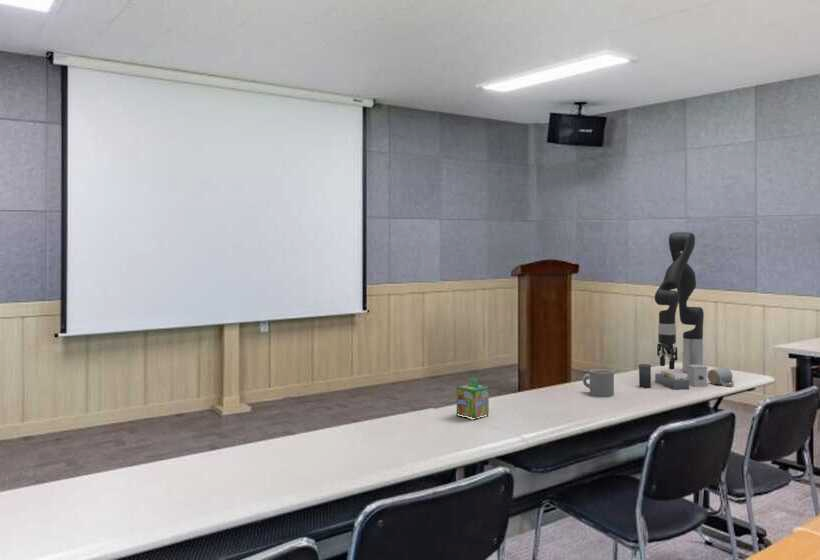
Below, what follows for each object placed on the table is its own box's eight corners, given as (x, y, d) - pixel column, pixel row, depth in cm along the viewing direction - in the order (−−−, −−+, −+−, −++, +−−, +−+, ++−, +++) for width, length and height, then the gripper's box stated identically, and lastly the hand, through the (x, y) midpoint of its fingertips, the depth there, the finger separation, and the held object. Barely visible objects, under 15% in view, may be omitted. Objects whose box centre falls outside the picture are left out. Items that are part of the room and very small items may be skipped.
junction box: (686, 383, 293) (686, 364, 293) (699, 383, 294) (699, 364, 293) (695, 386, 286) (695, 367, 285) (708, 386, 286) (708, 367, 286)
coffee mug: (618, 394, 274) (618, 371, 274) (605, 397, 268) (605, 374, 267) (592, 389, 284) (591, 367, 284) (578, 392, 278) (578, 370, 278)
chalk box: (455, 416, 242) (455, 378, 241) (471, 412, 248) (470, 374, 248) (474, 420, 235) (473, 381, 235) (489, 416, 242) (489, 377, 241)
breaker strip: (655, 382, 298) (655, 370, 297) (669, 381, 298) (669, 369, 298) (673, 389, 281) (673, 377, 280) (688, 389, 281) (688, 376, 281)
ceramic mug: (706, 383, 293) (706, 366, 293) (719, 381, 296) (719, 365, 296) (724, 388, 283) (724, 371, 283) (738, 386, 286) (738, 369, 286)
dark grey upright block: (636, 385, 290) (636, 364, 290) (648, 385, 291) (647, 363, 290) (642, 388, 285) (641, 366, 285) (653, 387, 285) (653, 365, 285)
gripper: (651, 331, 299) (651, 365, 300) (667, 335, 285) (667, 370, 286) (666, 330, 300) (666, 364, 300) (682, 334, 286) (682, 370, 286)
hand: (667, 367), depth 293 cm, fingers open, 8 cm apart
